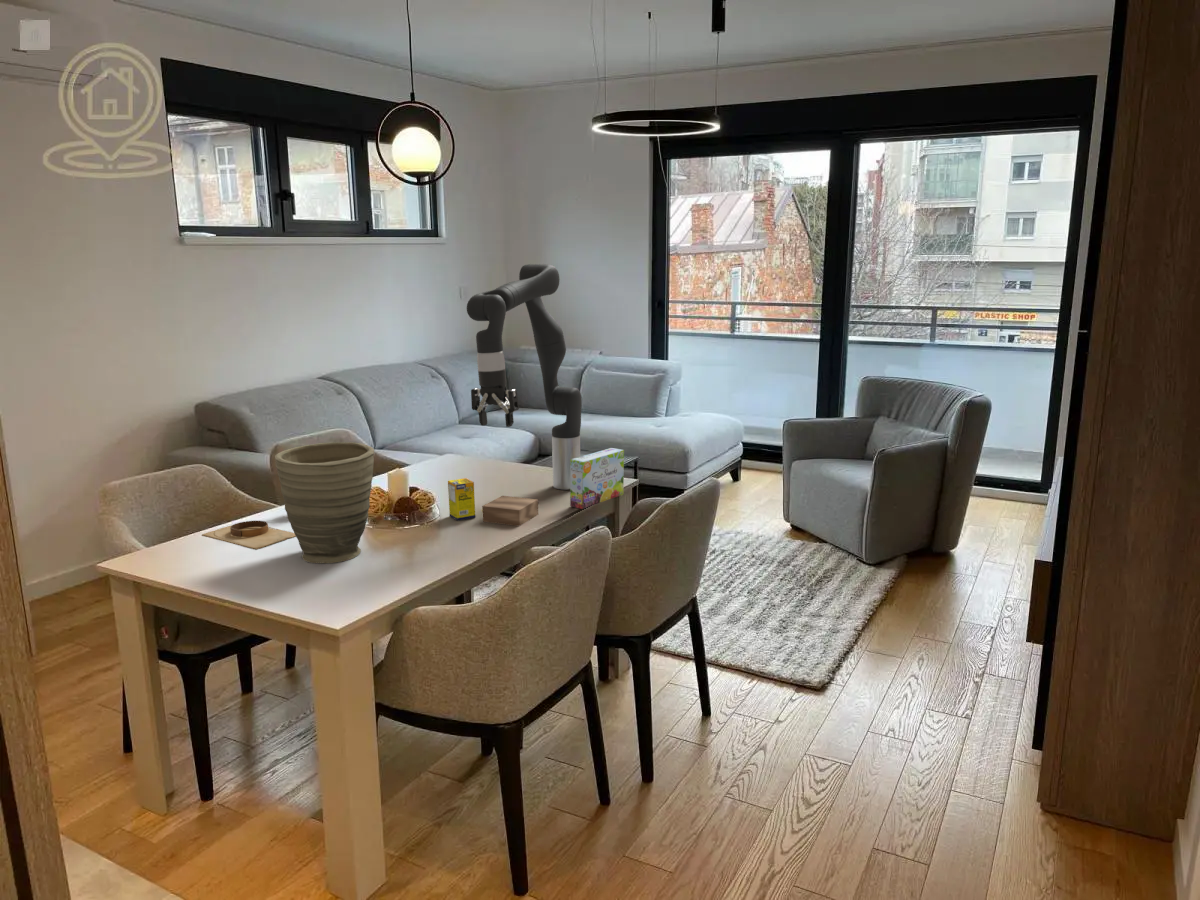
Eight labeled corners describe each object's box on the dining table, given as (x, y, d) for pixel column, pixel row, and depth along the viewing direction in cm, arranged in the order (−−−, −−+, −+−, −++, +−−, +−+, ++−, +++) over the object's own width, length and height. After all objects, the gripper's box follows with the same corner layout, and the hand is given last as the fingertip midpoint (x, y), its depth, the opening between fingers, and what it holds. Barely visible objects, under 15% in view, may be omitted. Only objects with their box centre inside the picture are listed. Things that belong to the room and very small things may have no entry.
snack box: (584, 510, 265) (583, 461, 262) (569, 507, 268) (568, 459, 265) (624, 494, 282) (624, 448, 278) (610, 491, 285) (610, 446, 282)
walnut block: (502, 511, 265) (502, 495, 264) (538, 515, 261) (538, 499, 260) (482, 522, 255) (482, 506, 254) (519, 527, 250) (519, 510, 249)
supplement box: (475, 517, 258) (474, 481, 256) (456, 521, 255) (455, 484, 253) (467, 512, 263) (466, 477, 261) (449, 516, 260) (447, 480, 258)
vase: (269, 554, 230) (270, 440, 229) (362, 550, 241) (364, 441, 239) (278, 573, 208) (280, 446, 207) (380, 567, 219) (383, 447, 217)
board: (198, 537, 245) (197, 526, 244) (245, 523, 257) (244, 512, 257) (256, 552, 232) (255, 540, 231) (303, 536, 245) (302, 525, 244)
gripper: (520, 366, 241) (525, 424, 245) (478, 365, 248) (483, 421, 252) (505, 370, 235) (510, 429, 239) (462, 369, 242) (467, 427, 245)
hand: (496, 425), depth 245 cm, fingers open, 8 cm apart
